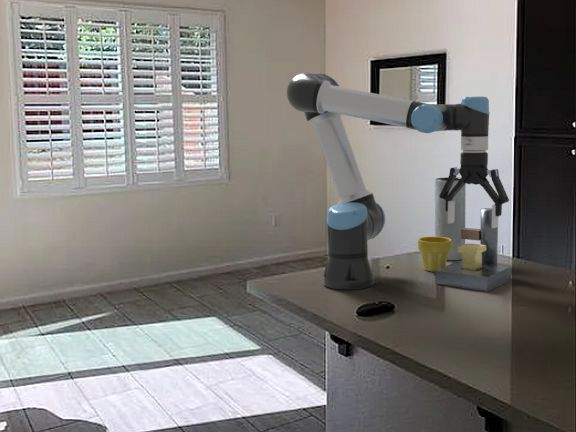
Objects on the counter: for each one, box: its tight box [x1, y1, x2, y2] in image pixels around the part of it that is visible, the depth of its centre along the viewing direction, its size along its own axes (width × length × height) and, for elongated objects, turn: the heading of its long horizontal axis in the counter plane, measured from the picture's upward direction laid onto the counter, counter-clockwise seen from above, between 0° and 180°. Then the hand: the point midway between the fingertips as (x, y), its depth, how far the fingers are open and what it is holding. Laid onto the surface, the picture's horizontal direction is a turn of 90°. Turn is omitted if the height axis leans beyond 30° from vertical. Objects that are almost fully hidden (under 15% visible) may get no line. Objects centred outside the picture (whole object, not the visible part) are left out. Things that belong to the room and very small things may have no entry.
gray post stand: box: [434, 207, 512, 292], centre depth 198 cm, size 16×21×20 cm
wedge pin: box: [458, 242, 486, 271], centre depth 196 cm, size 6×6×11 cm
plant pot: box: [417, 236, 451, 272], centre depth 214 cm, size 10×10×10 cm
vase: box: [434, 177, 467, 261], centre depth 228 cm, size 10×10×27 cm
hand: (472, 225), depth 195 cm, fingers open, 13 cm apart
